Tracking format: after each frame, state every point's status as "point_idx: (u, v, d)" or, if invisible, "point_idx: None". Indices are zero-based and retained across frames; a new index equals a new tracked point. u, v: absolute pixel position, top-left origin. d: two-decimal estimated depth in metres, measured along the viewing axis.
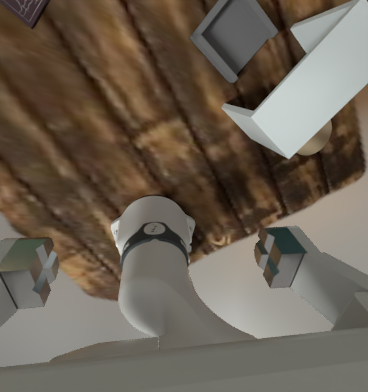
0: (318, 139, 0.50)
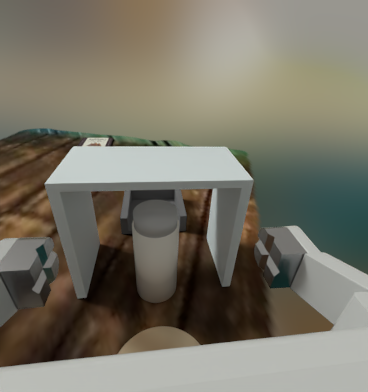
0: None
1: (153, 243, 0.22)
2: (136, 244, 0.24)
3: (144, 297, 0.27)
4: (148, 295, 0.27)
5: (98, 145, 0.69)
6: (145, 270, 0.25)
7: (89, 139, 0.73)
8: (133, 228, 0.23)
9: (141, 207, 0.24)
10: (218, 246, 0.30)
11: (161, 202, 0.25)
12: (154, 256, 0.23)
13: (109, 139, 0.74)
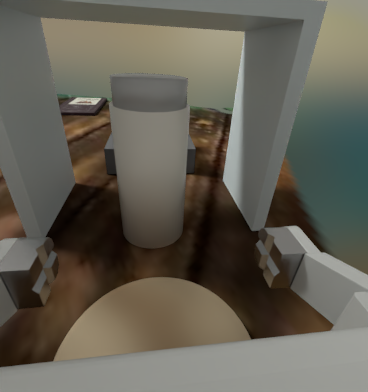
0: None
1: (145, 123, 0.13)
2: (116, 135, 0.14)
3: (133, 240, 0.17)
4: (140, 234, 0.17)
5: (89, 103, 0.59)
6: (132, 185, 0.15)
7: (79, 98, 0.63)
8: (111, 105, 0.14)
9: (125, 74, 0.14)
10: (244, 173, 0.21)
11: (160, 74, 0.15)
12: (146, 153, 0.13)
13: (102, 99, 0.64)
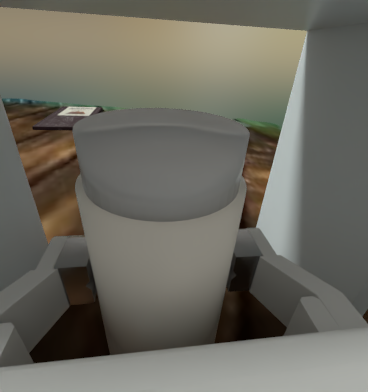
0: None
1: (156, 247, 0.05)
2: (90, 249, 0.06)
3: None
4: None
5: (81, 113, 0.51)
6: (127, 336, 0.07)
7: (70, 108, 0.56)
8: (79, 188, 0.06)
9: (112, 116, 0.07)
10: (304, 251, 0.13)
11: (182, 112, 0.08)
12: (157, 296, 0.06)
13: (97, 108, 0.57)
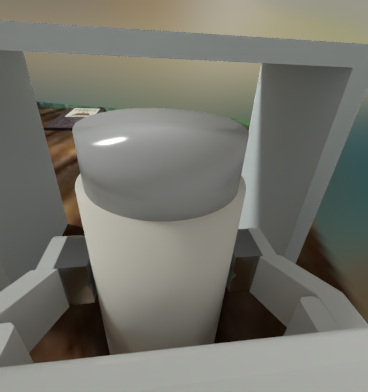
0: None
1: (156, 247, 0.05)
2: (91, 249, 0.06)
3: None
4: None
5: (87, 115, 0.56)
6: (126, 336, 0.07)
7: (76, 109, 0.60)
8: (79, 188, 0.06)
9: (112, 116, 0.07)
10: (261, 222, 0.18)
11: (182, 112, 0.08)
12: (157, 295, 0.06)
13: (101, 109, 0.62)
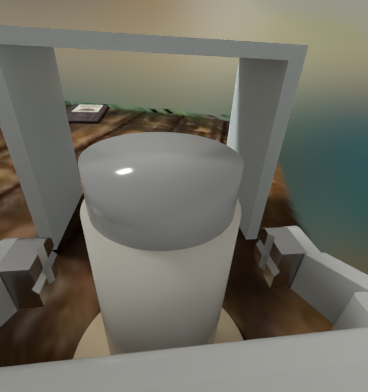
0: None
1: (156, 274, 0.06)
2: (95, 272, 0.07)
3: None
4: None
5: (91, 110, 0.61)
6: (128, 351, 0.08)
7: (81, 105, 0.65)
8: (84, 215, 0.07)
9: (115, 145, 0.07)
10: None
11: (181, 137, 0.08)
12: (157, 316, 0.06)
13: (104, 105, 0.66)
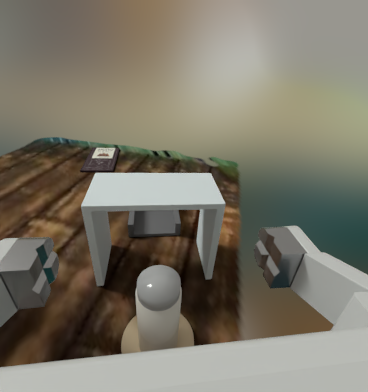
0: None
1: (156, 316, 0.23)
2: (139, 313, 0.24)
3: None
4: None
5: (107, 156, 0.78)
6: (147, 336, 0.25)
7: (98, 149, 0.82)
8: (137, 298, 0.24)
9: (145, 276, 0.24)
10: (203, 248, 0.40)
11: (165, 269, 0.25)
12: (156, 326, 0.24)
13: (116, 149, 0.83)
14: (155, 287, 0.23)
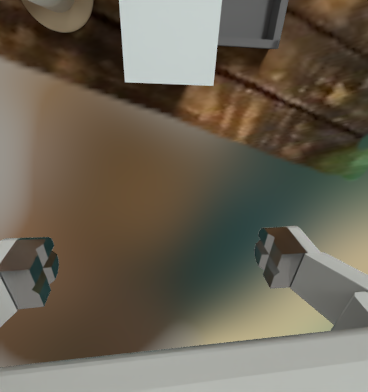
0: None
1: None
2: None
3: None
4: None
5: None
6: None
7: None
8: None
9: None
10: None
11: None
12: None
13: None
14: None
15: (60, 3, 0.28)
